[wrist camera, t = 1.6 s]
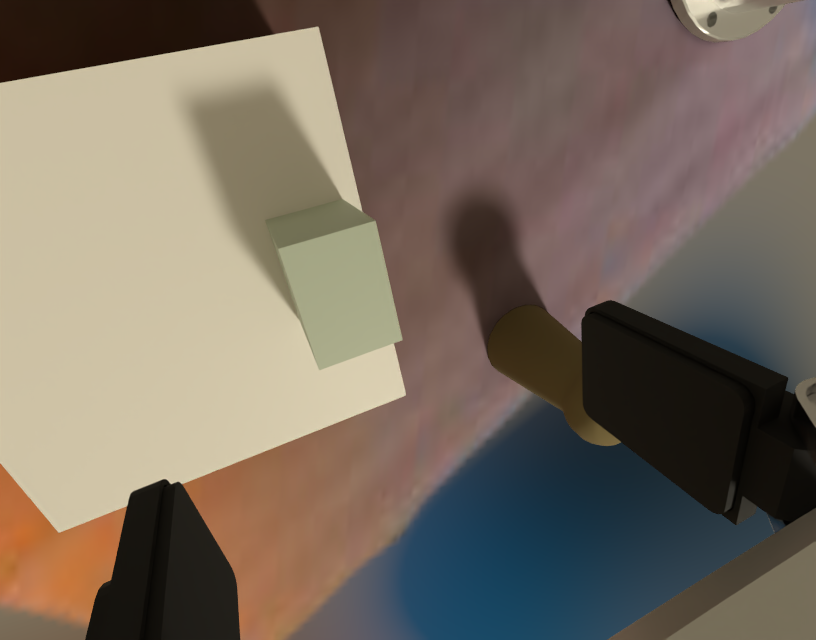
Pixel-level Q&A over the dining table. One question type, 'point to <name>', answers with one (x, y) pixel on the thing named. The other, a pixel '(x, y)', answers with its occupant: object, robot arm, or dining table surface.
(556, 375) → the cork
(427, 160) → the dining table surface
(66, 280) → the lid
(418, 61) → the dining table surface
